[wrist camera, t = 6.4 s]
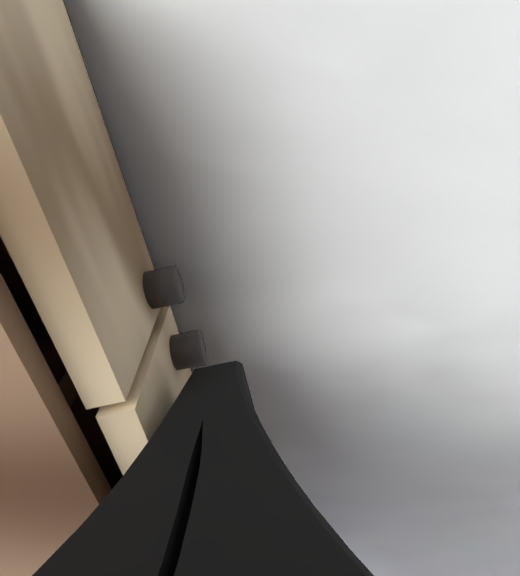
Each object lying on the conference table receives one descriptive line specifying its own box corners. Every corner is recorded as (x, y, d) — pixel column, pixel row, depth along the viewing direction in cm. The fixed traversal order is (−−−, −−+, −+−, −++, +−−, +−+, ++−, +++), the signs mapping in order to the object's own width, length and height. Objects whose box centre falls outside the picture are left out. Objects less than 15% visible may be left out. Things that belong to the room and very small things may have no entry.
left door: (255, 499, 14) (263, 661, 10) (216, 506, 14) (209, 670, 10) (196, 294, 11) (173, 409, 7) (146, 304, 11) (91, 425, 7)
